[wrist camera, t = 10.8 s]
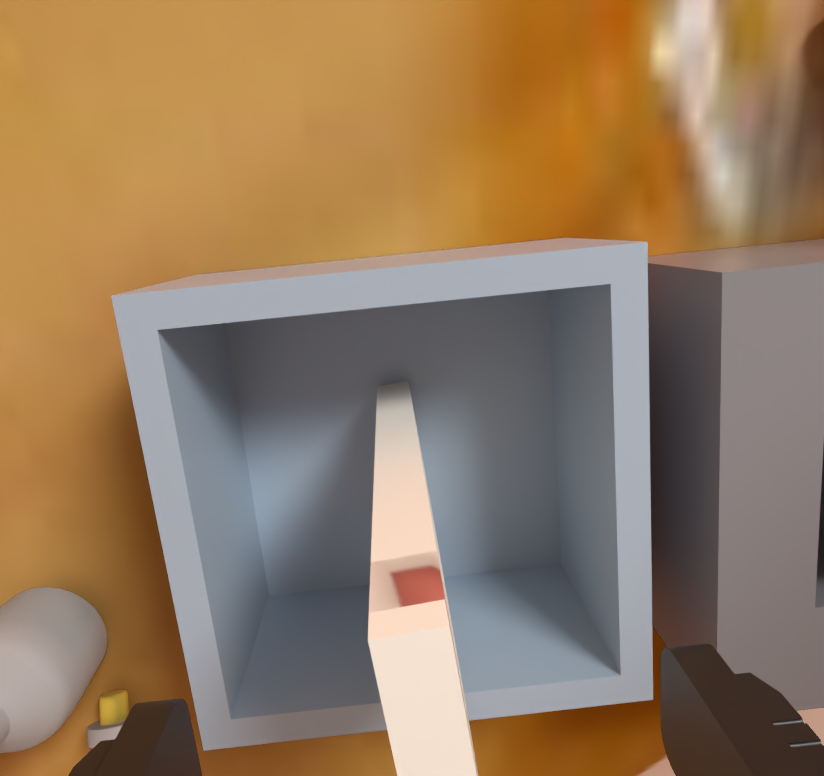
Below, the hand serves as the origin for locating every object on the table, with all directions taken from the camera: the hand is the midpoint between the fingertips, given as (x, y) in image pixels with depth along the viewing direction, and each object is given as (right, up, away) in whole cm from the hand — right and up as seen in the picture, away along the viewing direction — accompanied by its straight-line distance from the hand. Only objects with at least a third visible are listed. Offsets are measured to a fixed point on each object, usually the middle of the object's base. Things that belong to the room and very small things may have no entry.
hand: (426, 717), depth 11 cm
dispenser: (+12, +4, +16) cm, 21 cm away
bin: (-1, +4, +16) cm, 16 cm away
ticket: (0, +3, +15) cm, 15 cm away
